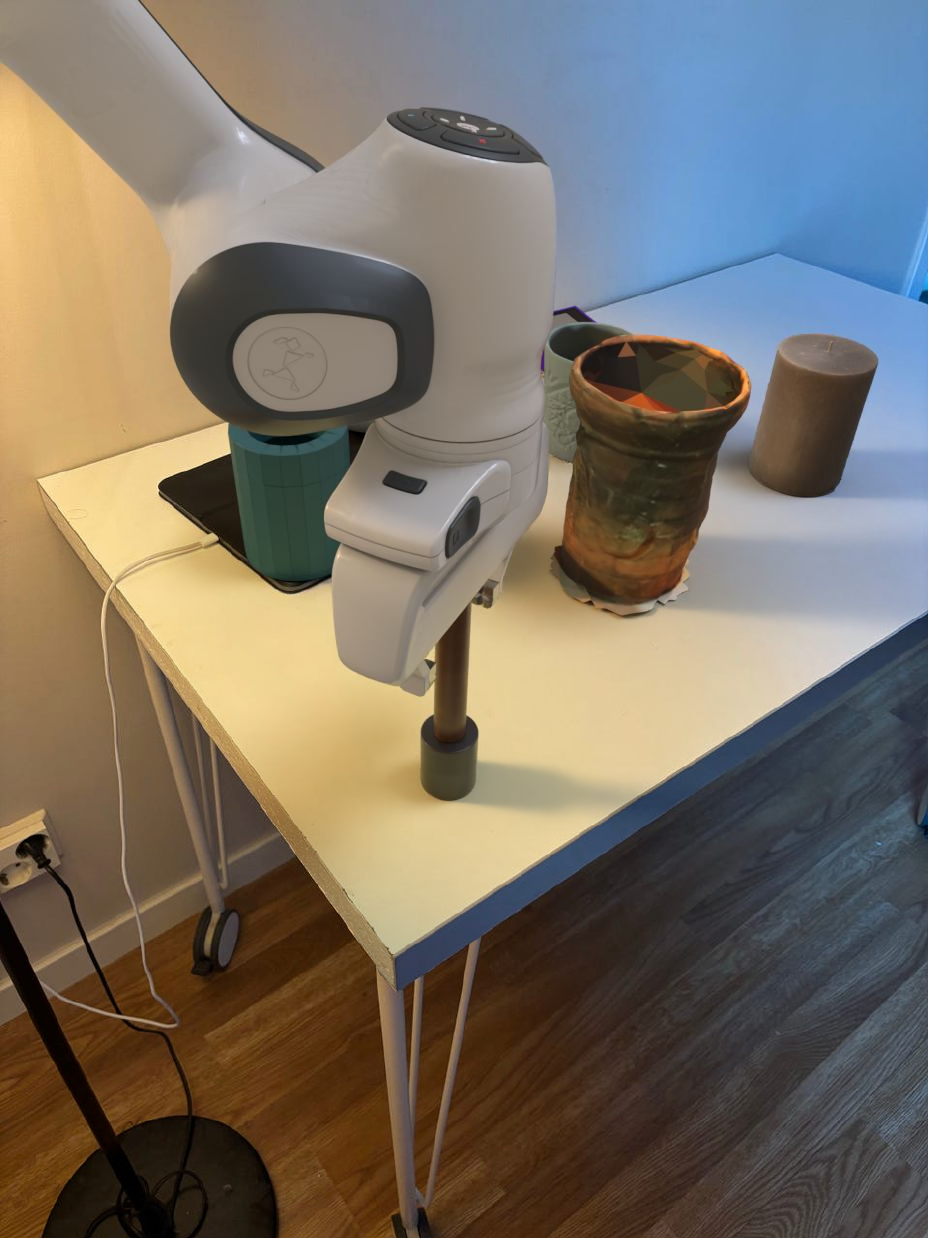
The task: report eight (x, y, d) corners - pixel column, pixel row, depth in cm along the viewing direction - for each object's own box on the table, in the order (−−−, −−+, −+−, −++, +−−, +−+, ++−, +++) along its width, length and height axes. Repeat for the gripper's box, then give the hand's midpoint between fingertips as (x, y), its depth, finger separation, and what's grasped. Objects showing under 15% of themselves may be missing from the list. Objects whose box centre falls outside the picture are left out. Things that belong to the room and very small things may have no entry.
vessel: (736, 596, 86) (793, 393, 73) (598, 635, 81) (633, 426, 68) (650, 512, 96) (686, 320, 83) (522, 543, 91) (540, 344, 78)
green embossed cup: (589, 414, 111) (602, 314, 103) (646, 454, 104) (664, 350, 96) (517, 435, 106) (525, 333, 99) (571, 478, 100) (584, 372, 92)
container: (223, 560, 87) (203, 435, 79) (287, 507, 94) (274, 386, 86) (315, 594, 84) (304, 467, 76) (374, 536, 91) (369, 414, 83)
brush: (410, 787, 68) (408, 591, 56) (436, 750, 71) (440, 555, 59) (460, 808, 67) (469, 612, 55) (485, 770, 69) (498, 575, 58)
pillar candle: (848, 500, 98) (896, 365, 89) (753, 494, 99) (790, 358, 89) (828, 452, 106) (870, 322, 96) (740, 446, 106) (772, 316, 96)
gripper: (489, 361, 59) (480, 541, 68) (302, 527, 45) (322, 727, 54) (583, 384, 57) (561, 567, 66) (419, 566, 43) (419, 767, 52)
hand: (452, 641), depth 60 cm, fingers open, 8 cm apart
